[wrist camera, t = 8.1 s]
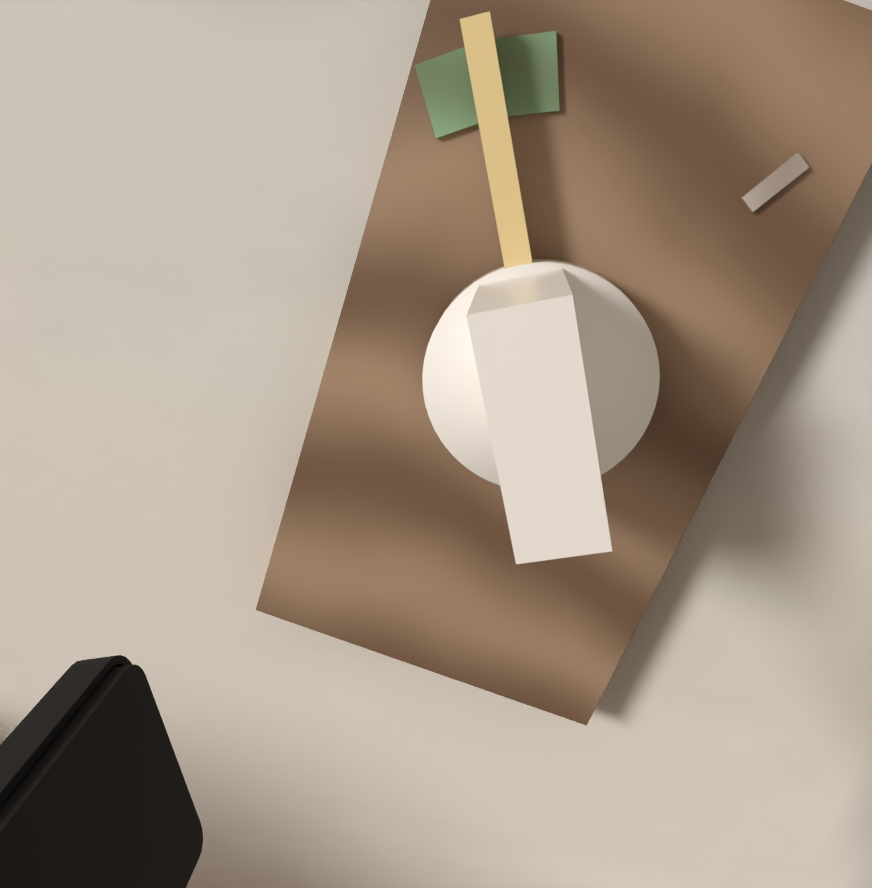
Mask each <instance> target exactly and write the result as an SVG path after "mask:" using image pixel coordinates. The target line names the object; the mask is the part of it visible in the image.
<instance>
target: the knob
mask: <svg viewBox="0 0 872 888" xmlns="http://www.w3.org/2000/svg"><path fill="white" fill-rule="evenodd" d="M460 24H461V30H462V35H463V41H464V46H465V52H466V57H467V63H468V69H469V74H470V80H471V85H472V91H473V96H474V102H475V107H476V113H477V118H478V124H479V129H480V135H481V140H482V146H483V152H484V157H485V163H486V168H487V174H488V179H489V185H490V190H491V196H492V201H493V207H494V212H495V218H496V223H497V229H498V235H499V240H500V246H501V251H502V257H503V262H504V266H501V267H499V268H496V269H494V270H492V271H489V272H488V273H486V274H484V275H483V276H481V277H479V278H477V279H476V280H475V281H473V282H472V283H471V284H469V285H468V286H467V287H466V288H464V289H463V290H462V291H461V292H460V293H459V294H458V295H457V296H456V297H455V298H454V300H453V301H452V302H451V303H450V305H449V306H448V307H447V309H446V310H445V312H444V313H443V315H442V317H441V319H440V320H439V322H438V324H437V326H436V327H435V329H434V331H433V333H432V336H431V338H430V341H429V343H428V346H427V350H426V354H425V358H424V364H423V373H422V383H423V395H424V401H425V406H426V409H427V413H428V416H429V419H430V421H431V423H432V425H433V428H434V430H435V432H436V433H437V435H438V437H439V438H440V440H441V442H442V443H443V444H444V446H445V447H446V448H447V449H448V451H449V452H450V453H451V454H452V455H453V456H454V457H455V458H456V459H457V460H458V461H459V462H460V463H461V464H462V465H464V466H465V467H466V468H468V469H469V470H470V471H472V472H473V473H475V474H476V475H478V476H480V477H482V478H484V479H485V480H487V481H490V482H492V483H495V484H497V485H500V487H501V492H502V497H503V502H504V507H505V512H506V517H507V522H508V527H509V532H510V537H511V542H512V547H513V552H514V557H515V562H516V564H523V563H530V562H537V561H545V560H552V559H559V558H567V557H574V556H581V555H589V554H596V553H603V552H611V551H612V546H611V539H610V533H609V526H608V520H607V513H606V507H605V501H604V494H603V488H602V481H601V475H602V474H604V473H605V472H607V471H609V470H610V469H612V468H613V467H614V466H615V465H617V464H618V463H619V462H620V461H621V460H623V459H624V458H625V457H626V456H627V455H628V453H629V452H630V451H631V450H632V449H633V448H634V447H635V445H636V444H637V443H638V441H639V440H640V438H641V437H642V436H643V434H644V432H645V430H646V428H647V426H648V425H649V423H650V420H651V418H652V415H653V412H654V410H655V406H656V402H657V398H658V393H659V382H660V371H659V360H658V355H657V349H656V346H655V343H654V340H653V337H652V334H651V332H650V330H649V328H648V326H647V324H646V322H645V320H644V318H643V317H642V316H641V314H640V313H639V311H638V310H637V309H636V307H635V306H634V305H633V303H632V302H631V301H630V300H629V299H628V298H627V296H626V295H625V294H624V293H623V292H622V291H621V290H620V289H619V288H618V287H616V286H615V285H614V284H613V283H611V282H610V281H609V280H608V279H606V278H605V277H603V276H601V275H600V274H598V273H596V272H594V271H592V270H590V269H588V268H585V267H583V266H580V265H577V264H573V263H570V262H566V261H559V260H552V259H532V257H531V251H530V245H529V239H528V233H527V227H526V221H525V215H524V209H523V204H522V198H521V192H520V186H519V180H518V174H517V168H516V162H515V156H514V150H513V144H512V139H511V133H510V127H509V121H508V115H507V109H506V103H505V97H504V91H503V85H502V79H501V74H500V68H499V62H498V56H497V50H496V44H495V38H494V32H493V26H492V20H491V15H490V11H489V12H485V13H481V14H477V15H473V16H470V17H466V18H462V19H460Z"/></svg>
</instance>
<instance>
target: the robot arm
mask: <svg viewBox="0 0 872 888" xmlns="http://www.w3.org/2000/svg"><path fill="white" fill-rule="evenodd" d="M202 842H203V833H202V827H201V823H200V820H199V817H198V815H197V812H196V809H195V807H194V804H193V801H192V799H191V796H190V793H189V791H188V788H187V785H186V783H185V780H184V777H183V775H182V772H181V769H180V767H179V764H178V761H177V758H176V756H175V753H174V750H173V748H172V745H171V742H170V740H169V737H168V734H167V732H166V729H165V726H164V724H163V721H162V718H161V716H160V713H159V710H158V708H157V705H156V702H155V700H154V697H153V694H152V691H151V689H150V686H149V683H148V681H147V678H146V675H145V673H144V671H143V670H142V669H141V668H140V667H139V666H138V665H132V664H131V662H130V661H129V660H128V659H127V658H126V657H124V656H121V655H118V656H110V657H103V658H96V659H88V660H82V661H77V662H76V663H74V664H73V665H72V666H71V667H70V668H69V669H68V670H67V671H66V672H65V673H64V675H63V676H62V677H61V678H60V679H59V680H58V681H57V682H56V683H55V685H54V686H53V687H52V688H51V689H50V690H49V691H48V692H47V694H46V695H45V696H44V697H43V698H42V699H41V700H40V701H39V702H38V704H37V705H36V706H35V707H34V708H33V709H32V710H31V711H30V713H29V714H28V715H27V716H26V717H25V718H24V719H23V720H22V722H21V723H20V724H19V725H18V726H17V727H16V728H15V729H14V730H13V732H12V733H11V734H10V735H9V736H8V737H7V738H6V739H5V741H4V742H3V743H2V744H1V745H0V888H186V886H187V884H188V881H189V879H190V877H191V875H192V873H193V870H194V868H195V866H196V864H197V861H198V859H199V856H200V854H201V849H202Z"/></svg>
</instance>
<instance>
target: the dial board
mask: <svg viewBox="0 0 872 888" xmlns="http://www.w3.org/2000/svg"><path fill="white" fill-rule="evenodd" d="M489 11H490V15H491V20H492V26H493V32H494V38H495V44H496V50H497V56H498V62H499V68H500V74H501V79H502V85H503V91H504V97H505V103H506V109H507V115H508V121H509V127H510V133H511V139H512V144H513V150H514V156H515V162H516V168H517V174H518V180H519V186H520V192H521V198H522V204H523V209H524V215H525V221H526V227H527V233H528V239H529V245H530V251H531V257H532V259H552V260H559V261H566V262H570V263H573V264H577V265H580V266H583V267H585V268H588V269H590V270H592V271H594V272H596V273H598V274H600V275H601V276H603V277H605V278H606V279H608V280H609V281H610V282H611V283H613V284H614V285H615V286H616V287H618V288H619V289H620V290H621V291H622V292H623V293H624V294H625V295H626V296H627V298H628V299H629V300H630V301H631V302H632V303H633V305H634V306H635V307H636V309H637V310H638V311H639V313H640V314H641V316H642V317H643V318H644V320H645V322H646V324H647V326H648V328H649V330H650V332H651V334H652V337H653V340H654V343H655V346H656V349H657V355H658V360H659V371H660V382H659V393H658V398H657V402H656V406H655V410H654V412H653V415H652V418H651V420H650V423H649V425H648V426H647V428H646V430H645V432H644V434H643V436H642V437H641V438H640V440H639V441H638V443H637V444H636V445H635V447H634V448H633V449H632V450H631V451H630V452H629V453H628V455H627V456H626V457H625V458H624V459H623V460H621V461H620V462H619V463H618V464H617V465H615V466H614V467H613V468H612V469H610V470H609V471H607V472H605V473H604V474H602V475H601V481H602V488H603V494H604V501H605V507H606V513H607V520H608V526H609V533H610V539H611V546H612V551H611V552H603V553H596V554H589V555H581V556H574V557H567V558H559V559H552V560H545V561H537V562H530V563H523V564H516V562H515V557H514V552H513V547H512V542H511V537H510V532H509V527H508V522H507V517H506V512H505V507H504V502H503V497H502V492H501V487H500V485H497V484H495V483H492V482H490V481H487V480H485V479H484V478H482V477H480V476H478V475H476V474H475V473H473V472H472V471H470V470H469V469H468V468H466V467H465V466H464V465H462V464H461V463H460V462H459V461H458V460H457V459H456V458H455V457H454V456H453V455H452V454H451V453H450V452H449V451H448V449H447V448H446V447H445V446H444V444H443V443H442V442H441V440H440V438H439V437H438V435H437V433H436V432H435V430H434V428H433V425H432V423H431V421H430V419H429V416H428V413H427V409H426V406H425V401H424V395H423V383H422V373H423V364H424V358H425V354H426V350H427V346H428V343H429V341H430V338H431V336H432V333H433V331H434V329H435V327H436V326H437V324H438V322H439V320H440V319H441V317H442V315H443V313H444V312H445V310H446V309H447V307H448V306H449V305H450V303H451V302H452V301H453V300H454V298H455V297H456V296H457V295H458V294H459V293H460V292H461V291H462V290H463V289H464V288H466V287H467V286H468V285H469V284H471V283H472V282H473V281H475V280H476V279H477V278H479V277H481V276H483V275H484V274H486V273H488V272H489V271H492V270H494V269H496V268H499V267H501V266H504V262H503V257H502V251H501V246H500V240H499V235H498V229H497V223H496V218H495V212H494V207H493V201H492V196H491V190H490V185H489V179H488V174H487V168H486V163H485V157H484V152H483V146H482V140H481V135H480V129H479V124H478V118H477V113H476V107H475V102H474V96H473V91H472V85H471V80H470V74H469V69H468V63H467V57H466V52H465V46H464V41H463V35H462V30H461V24H460V19H462V18H466V17H470V16H473V15H477V14H481V13H485V12H489ZM871 164H872V11H871V10H869V9H866V8H863V7H860V6H857V5H855V4H852V3H849V2H846V1H844V0H430V4H429V7H428V11H427V14H426V18H425V21H424V25H423V28H422V32H421V35H420V39H419V42H418V46H417V49H416V53H415V56H414V60H413V63H412V67H411V70H410V74H409V77H408V81H407V84H406V88H405V91H404V95H403V98H402V102H401V105H400V109H399V112H398V116H397V119H396V122H395V126H394V129H393V133H392V136H391V140H390V143H389V147H388V150H387V154H386V157H385V161H384V164H383V168H382V171H381V175H380V178H379V182H378V185H377V189H376V192H375V196H374V199H373V203H372V206H371V210H370V213H369V217H368V220H367V224H366V227H365V231H364V234H363V238H362V241H361V245H360V248H359V252H358V255H357V259H356V262H355V266H354V269H353V273H352V276H351V280H350V283H349V287H348V290H347V294H346V297H345V301H344V304H343V307H342V311H341V314H340V318H339V321H338V325H337V328H336V332H335V335H334V339H333V342H332V346H331V349H330V353H329V356H328V360H327V363H326V367H325V370H324V374H323V377H322V381H321V384H320V388H319V391H318V395H317V398H316V402H315V405H314V409H313V412H312V416H311V419H310V423H309V426H308V430H307V433H306V437H305V440H304V444H303V447H302V451H301V454H300V458H299V461H298V465H297V468H296V472H295V475H294V479H293V482H292V485H291V489H290V492H289V496H288V499H287V503H286V506H285V510H284V513H283V517H282V520H281V524H280V527H279V531H278V534H277V538H276V541H275V545H274V548H273V552H272V555H271V559H270V562H269V566H268V569H267V573H266V576H265V580H264V583H263V587H262V590H261V594H260V597H259V601H258V604H257V608H256V610H258V611H261V612H264V613H266V614H269V615H272V616H275V617H278V618H281V619H284V620H286V621H289V622H292V623H295V624H298V625H301V626H304V627H307V628H309V629H312V630H315V631H318V632H321V633H324V634H327V635H329V636H332V637H335V638H338V639H341V640H344V641H347V642H349V643H352V644H355V645H358V646H361V647H364V648H367V649H369V650H372V651H375V652H378V653H381V654H384V655H387V656H390V657H392V658H395V659H398V660H401V661H404V662H407V663H410V664H412V665H415V666H418V667H421V668H424V669H427V670H430V671H432V672H435V673H438V674H441V675H444V676H447V677H450V678H453V679H455V680H458V681H461V682H464V683H467V684H470V685H473V686H475V687H478V688H481V689H484V690H487V691H490V692H493V693H495V694H498V695H501V696H504V697H507V698H510V699H513V700H515V701H518V702H521V703H524V704H527V705H530V706H533V707H536V708H538V709H541V710H544V711H547V712H550V713H553V714H556V715H558V716H561V717H564V718H567V719H570V720H573V721H576V722H578V723H581V724H584V725H587V724H588V722H589V720H590V718H591V716H592V714H593V712H594V710H595V708H596V706H597V704H598V702H599V700H600V698H601V696H602V694H603V692H604V690H605V688H606V686H607V684H608V682H609V680H610V678H611V676H612V674H613V672H614V670H615V668H616V666H617V664H618V662H619V660H620V658H621V656H622V655H623V653H624V651H625V649H626V647H627V645H628V643H629V641H630V639H631V637H632V635H633V633H634V631H635V629H636V627H637V625H638V623H639V621H640V619H641V617H642V615H643V613H644V611H645V609H646V607H647V605H648V603H649V601H650V599H651V597H652V595H653V593H654V591H655V589H656V587H657V586H658V584H659V582H660V580H661V578H662V576H663V574H664V572H665V570H666V568H667V566H668V564H669V562H670V560H671V558H672V556H673V554H674V552H675V550H676V548H677V546H678V544H679V542H680V540H681V538H682V536H683V534H684V532H685V530H686V528H687V526H688V524H689V522H690V520H691V518H692V516H693V515H694V513H695V511H696V509H697V507H698V505H699V503H700V501H701V499H702V497H703V495H704V493H705V491H706V489H707V487H708V485H709V483H710V481H711V479H712V477H713V475H714V473H715V471H716V469H717V467H718V465H719V463H720V461H721V459H722V457H723V455H724V453H725V451H726V449H727V447H728V446H729V444H730V442H731V440H732V438H733V436H734V434H735V432H736V430H737V428H738V426H739V424H740V422H741V420H742V418H743V416H744V414H745V412H746V410H747V408H748V406H749V404H750V402H751V400H752V398H753V396H754V394H755V392H756V390H757V388H758V386H759V384H760V382H761V380H762V378H763V376H764V375H765V373H766V371H767V369H768V367H769V365H770V363H771V361H772V359H773V357H774V355H775V353H776V351H777V349H778V347H779V345H780V343H781V341H782V339H783V337H784V335H785V333H786V331H787V329H788V327H789V325H790V323H791V321H792V319H793V317H794V315H795V313H796V311H797V309H798V307H799V306H800V304H801V302H802V300H803V298H804V296H805V294H806V292H807V290H808V288H809V286H810V284H811V282H812V280H813V278H814V276H815V274H816V272H817V270H818V268H819V266H820V264H821V262H822V260H823V258H824V256H825V254H826V252H827V250H828V248H829V246H830V244H831V242H832V240H833V238H834V236H835V235H836V233H837V231H838V229H839V227H840V225H841V223H842V221H843V219H844V217H845V215H846V213H847V211H848V209H849V207H850V205H851V203H852V201H853V199H854V197H855V195H856V193H857V191H858V189H859V187H860V185H861V183H862V181H863V179H864V177H865V175H866V173H867V171H868V169H869V167H870V166H871Z"/></svg>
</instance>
